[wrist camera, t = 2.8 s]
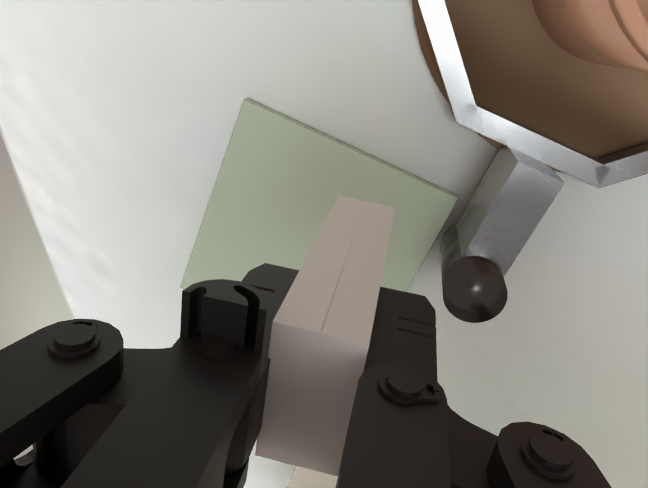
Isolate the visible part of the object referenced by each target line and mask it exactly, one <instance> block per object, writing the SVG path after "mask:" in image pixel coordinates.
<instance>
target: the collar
mask: <svg viewBox="0 0 648 488" xmlns="http://www.w3.org/2000/svg"><path fill="white" fill-rule="evenodd" d="M418 2H419V5H420V8H421V12H422V15H423V18H424V21H425V24H426V27H427V31H428V34H429V37H430V40H431V43H432V46H433V49H434V53H435V56H436V59H437V62H438V65H439V68H440V72H441V75H442V78H443V81H444V84H445V87H446V91H447V94H448V97H449V100H450V103H451V106H452V110H453V113H454V116H455V119H456V122H457V123H458V124H461V125H463V126H465V127H467V128H469V129H471V130H474V131H476V132H478V133H480V134H482V135H484V136H487V137H489V138H491V139H493V140H495V141H497V142H500V143H502V146H501V147H500V149H499V151H498V153H497V154H496V156H495V158H494V160H493V161H492V163H491V165H490V167H489V168H488V170H487V172H486V173H485V175H484V177H483V179H482V180H481V182H480V184H479V186H478V187H477V189H476V191H475V193H474V194H473V196H472V198H471V200H470V201H469V203H468V205H467V207H466V208H465V210H464V212H463V214H462V215H461V217H460V219H459V221H458V222H457V224H456V225H454V226H452V227H451V228H449V229H448V230H447V231H446V232H445V234H444V235H443V237H442V240H441V244H440V250H441V268H442V286H443V300H444V303H445V306H446V308H447V309H448V310H449V312H450V313H451V314H452V315H453V316H455V317H456V318H458V319H460V320H463V321H466V322H471V323H479V322H484V321H488V320H490V319H492V318H494V317H495V316H497V315H498V314H499V313H500V312H501V311H502V309H503V308H504V306H505V304H506V301H507V288H506V285H505V281H504V278H503V277H504V276H505V274H506V272H507V271H508V269H509V268H510V266H511V265H512V263H513V262H514V260H515V258H516V257H517V255H518V254H519V252H520V251H521V249H522V248H523V246H524V245H525V243H526V241H527V240H528V238H529V237H530V235H531V234H532V232H533V231H534V229H535V228H536V226H537V224H538V223H539V221H540V220H541V218H542V217H543V215H544V214H545V212H546V211H547V209H548V207H549V206H550V204H551V203H552V201H553V200H554V198H555V197H556V195H557V194H558V192H559V190H560V189H561V187H562V186H563V184H564V182H563V181H562V180H561V179H560V178H559V176H558V175H557V174H556V173H555V172H554V171H553V170H552V169H551V168H550V167H549V166H552V167H554V168H556V169H558V170H560V171H562V172H565V173H567V174H569V175H571V176H573V177H575V178H578V179H580V180H582V181H584V182H586V183H588V184H591V185H593V186H595V187H597V188H601V187H604V186H608V185H611V184H614V183H618V182H621V181H624V180H628V179H631V178H634V177H638V176H641V175H644V174H648V142H647V143H644V144H641V145H638V146H635V147H631V148H628V149H625V150H622V151H619V152H616V153H613V154H609V155H606V156H603V157H600V158H597V159H595V158H593V157H591V156H588V155H586V154H584V153H582V152H580V151H578V150H575V149H573V148H571V147H569V146H567V145H565V144H562V143H560V142H558V141H556V140H554V139H551V138H549V137H547V136H545V135H543V134H541V133H538V132H536V131H534V130H532V129H530V128H528V127H525V126H523V125H521V124H519V123H517V122H515V121H512V120H510V119H508V118H506V117H504V116H502V115H499V114H497V113H495V112H493V111H491V110H489V109H486V108H484V107H482V106H480V105H478V104H476V103H475V101H474V98H473V94H472V91H471V88H470V84H469V81H468V78H467V74H466V71H465V68H464V65H463V61H462V58H461V55H460V51H459V48H458V45H457V41H456V38H455V35H454V32H453V28H452V25H451V22H450V18H449V15H448V12H447V8H446V5H445V2H444V0H418ZM548 165H549V166H548Z"/></svg>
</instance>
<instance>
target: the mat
mask: <svg viewBox="0 0 648 488" xmlns="http://www.w3.org/2000/svg"><path fill="white" fill-rule="evenodd" d="M339 196H344V197H348V198H353V199H358V200H363V201H368V202H373V203H378V204H383V205H388V206H393V207H395V208H394V214H393V219H392V225H391V230H390V235H389V241H388V246H387V252H386V257H385V262H384V268H383V273H382V279H381V284H380V287H385V288H390V289H394V290H399V291H403V292H406V291H407V289H408V287H409V286H410V284H411V282H412V280H413V279H414V277H415V275H416V273H417V271H418V270H419V268H420V266H421V264H422V263H423V261H424V259H425V257H426V255H427V254H428V252H429V250H430V248H431V246H432V245H433V243H434V241H435V239H436V238H437V236H438V234H439V232H440V230H441V229H442V227H443V225H444V223H445V222H446V220H447V218H448V216H449V214H450V213H451V211H452V209H453V207H454V205H455V204H456V202H457V200H458V196H457V195H455V194H453V193H451V192H449V191H447V190H444V189H442V188H440V187H438V186H436V185H434V184H431V183H429V182H427V181H425V180H423V179H421V178H419V177H416V176H414V175H412V174H410V173H408V172H406V171H403V170H401V169H399V168H397V167H395V166H393V165H390V164H388V163H386V162H384V161H382V160H380V159H378V158H375V157H373V156H371V155H369V154H367V153H365V152H362V151H360V150H358V149H356V148H354V147H352V146H349V145H347V144H345V143H343V142H341V141H339V140H337V139H334V138H332V137H330V136H328V135H326V134H324V133H321V132H319V131H317V130H315V129H313V128H311V127H308V126H306V125H304V124H302V123H300V122H298V121H296V120H293V119H291V118H289V117H287V116H285V115H283V114H280V113H278V112H276V111H274V110H272V109H270V108H267V107H265V106H263V105H261V104H259V103H257V102H255V101H252V100H250V99H248V98H247V99H244V100H243V103H242V106H241V109H240V112H239V115H238V118H237V121H236V124H235V127H234V130H233V133H232V136H231V139H230V142H229V145H228V148H227V151H226V153H225V156H224V159H223V162H222V165H221V168H220V171H219V174H218V177H217V180H216V183H215V186H214V189H213V192H212V195H211V198H210V201H209V204H208V206H207V209H206V212H205V215H204V218H203V221H202V224H201V227H200V230H199V233H198V236H197V239H196V242H195V245H194V248H193V251H192V254H191V257H190V259H189V262H188V265H187V268H186V271H185V274H184V277H183V280H182V283H181V286H180V288H182V289H184V290H185V289H186V288H187V287H189V286H190V285H192V284H195V283H198V282H202V281H205V280H215V279H226V280H234V281H240V282H241V281H242V280H243V278H244V277H245V276H246V274H247V273H248V271H250V270H252V269H254V268H256V267H258V266H260V265H262V264H264V263H268V264H273V265H277V266H282V267H286V268H291V269H295V270H300V269H301V267H302V265H303V263H304V261H305V259H306V257H307V255H308V254H309V252H310V250H311V248H312V246H313V244H314V242H315V240H316V238H317V236H318V235H319V233H320V231H321V229H322V227H323V225H324V223H325V221H326V219H327V218H328V216H329V214H330V212H331V210H332V208H333V206H334V204H335V202H336V200H337V199H338V197H339Z"/></svg>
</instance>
